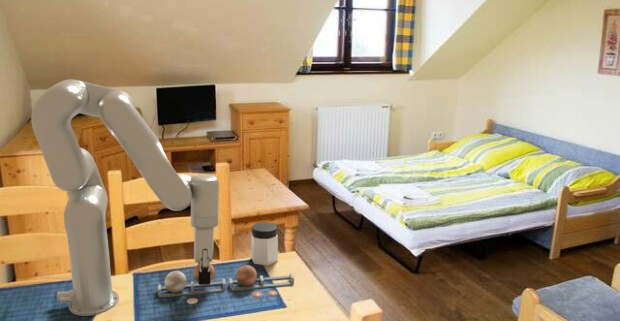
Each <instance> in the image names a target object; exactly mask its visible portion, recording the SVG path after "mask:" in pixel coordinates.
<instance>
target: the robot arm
mask: <svg viewBox="0 0 620 321" xmlns="http://www.w3.org/2000/svg"><path fill="white" fill-rule="evenodd" d="M78 114H82V115H86V116H89V117H90V116H92V117H95V118H99V119H100V121H101V122H102V123H103V125H104V126H105V127H106V129H107V130H108V131H109V132H110V133H111V135H112V136H113V138H114V139H115V140H116V141H117V142H118V144H119V145H120V146H121V147H122V149H123V150H124V151H125V153H126V154H127V155H128V157H129V158H130V159H131V161H132V163H133V165H134V166H135V168H136V169H137V170H138V172H139V173H140V175H141V176H142V178H143V179H144V181H145V182H146V184H147V185H148V187H149V188H150V189H151V190H152V193H154V195H156V198H158V199H159V201H160V202H161V203H162V204H163V206H165V208H167V209H169V210H171V211H175V212H176V211H177V212H178V211H183V210H185V209H186V208H187V207H188V206H189V205H190V226H191V227H192V228H194V232H193V259H194V261H193V262H195V263H198V264H200V271H199V282H198V283H199V285H207V284H210V282H211V281H210V264H211V263H212V261H213V256H214V255H213V254H214V242H215V241H214V239H215V228H217V227H218V226H219V213H220V212H219V211H220V209H219V206H220V205H219V204H220V203H219V202H220V201H219V200H220V197H219V196H220V181H219V178H218V177H217V176H215V175H211V174H199V175H198V174H197V175H193V174H191V175H190V174H185V173H184V174H183V173H177V171H176V170H175V169H174V167H173V166H172V164H171V163H170V160H169V159H168V157H167V155H166V153H165V150H164V147H163V145H162V143H161V142H160V140H159V138H158V136H157V135H156V134H155V132H154V131H153V130H152V128H151V127H150V126H149V125H148V124H147V122H146V121H145V119H144V118H143V117H142V115H141V114H140V112H139V111H138V109H136V107H135V102H134V99H132V97H131V96H130V94H128V93H127V92H125V91H123V90H120V89H115V88H111V87H107V86H103V85H100V84H95V83H91V82H87V81H82V80H79V79H73V78H71V79H70V78H69V79H64V80H61V81H60V82H57V83H55V84H54V85H52V86H51V87H49V88H48V89H47V90H46V91H45V92H43V93H42V94H41V95H40V97H38V99H37V101H36V102H35V103H34V105H33V108H32V111H31V116H30V117H31V118H30V119H31V126H32V130H33V133H34V136H35V139H36V142H37V143H38V146H39V148H40V151H41V155H42V157H43V159H44V162H45V164H46V167H47V169H48V172H49V176H50V178H51V180H52V183H53V184H54V185H55V186H56V187H57V189H60V190H61V191H64V192H66V194H67V196H68V200H67V202H66V204H65V208H64V211H63V222H64V223H63V224H64V228H65V233H66V238H67V244H68V245H67V246H68V253H69V254H68V255H69V261H70V262H69V263H70V269H71V270H70V271H71V277H72V278H71V279H72V280H71V281H72V289H69V290H67V291H64V290H63V291H56V299H57V300H59V303H67V302H68V310H69V311H70V313H71V314H73V315H76V316H81V317H91V316H97V314H101V313H103V312H106V311H109V310H111V309H113V308H114V307H116V306H117V304H118V302H119V301H120V297H119V294H118V292H116V291H114V290H113V286H112V284H113V283H112V274H111V262H110V260H111V259H110V249H109V240H108V231H107V224H106V223H107V222H106V212H107V206H108V203H109V199H108V194H107V190H106V187H105V185H104V182H103V180H102V176H101V174H100V172H99V169H98V166H97V164H96V161H95V159H94V157H93V156H92V154H91V153H90V152H89V151H88V150H86V149H85V148H83V147H80V143H79V141H78V138H77V136H76V133H75V131H74V129H73V127H72V124H71V123H72V119H73V118H74V117H75V116H77V115H78ZM202 263H203V266H202ZM207 263H208V265H207ZM198 264H197V265H198Z"/></svg>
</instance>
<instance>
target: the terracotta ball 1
mask: <svg viewBox="0 0 620 321" xmlns="http://www.w3.org/2000/svg"><path fill="white" fill-rule="evenodd" d="M207 265H208V263H207ZM202 266H203V263H202ZM199 271H200V264H197V265H195V267H194V269H193V272H192V273H193V274H192V275H193V277H194V280H195V281H196V282H197V283H199ZM215 274H216V272H215V268H214V266H213V265H212V264H211V263H210V282H213V280H214V278H215Z"/></svg>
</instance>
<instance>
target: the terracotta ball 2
mask: <svg viewBox="0 0 620 321" xmlns="http://www.w3.org/2000/svg"><path fill="white" fill-rule="evenodd" d="M256 270H257V269H255V268H254V267H253V266H251V265H250V264H244V265H242V266H240V267H239V268H238V269H237V270H236V273H235V280H237V281H238V283H237V284H239V285H240V286H253V285H254V283H256V282H255V280H256V278H258V275H257V271H256Z"/></svg>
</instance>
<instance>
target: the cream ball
mask: <svg viewBox="0 0 620 321" xmlns="http://www.w3.org/2000/svg"><path fill="white" fill-rule="evenodd" d="M186 284H187V277H186V275H185V273H183V272H182V271H180V270H173V271H171V272H169V273H168V274H167V275H166V277H165V279H164V286H165V287H166V288H167V289H168V290H167V291H169V293H177V292H183V290H184V289H185V288H184V287H185V286H186Z"/></svg>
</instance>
